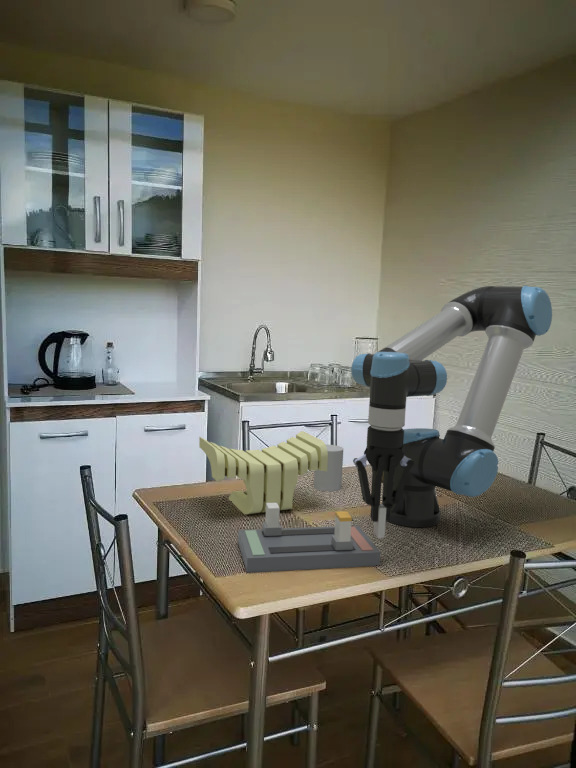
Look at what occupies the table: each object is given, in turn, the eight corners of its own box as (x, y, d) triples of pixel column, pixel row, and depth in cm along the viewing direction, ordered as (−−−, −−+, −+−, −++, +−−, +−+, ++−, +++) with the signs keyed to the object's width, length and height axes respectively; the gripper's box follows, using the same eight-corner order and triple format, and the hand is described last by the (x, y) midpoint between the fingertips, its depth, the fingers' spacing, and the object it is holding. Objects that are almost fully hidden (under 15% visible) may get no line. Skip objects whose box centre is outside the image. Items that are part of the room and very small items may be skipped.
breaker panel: (357, 537, 140) (359, 498, 139) (379, 565, 125) (382, 522, 124) (238, 542, 134) (239, 501, 133) (246, 572, 120) (248, 526, 118)
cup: (324, 481, 183) (326, 443, 181) (346, 487, 178) (348, 448, 176) (308, 487, 177) (310, 447, 175) (330, 493, 172) (332, 452, 170)
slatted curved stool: (216, 522, 146) (217, 451, 144) (198, 501, 160) (199, 436, 158) (325, 509, 158) (328, 443, 156) (299, 491, 173) (302, 430, 170)
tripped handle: (347, 542, 128) (349, 511, 127) (352, 549, 125) (354, 517, 124) (331, 543, 128) (332, 511, 127) (335, 550, 124) (337, 517, 123)
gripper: (408, 423, 129) (400, 527, 133) (350, 423, 127) (344, 529, 130) (422, 430, 122) (414, 541, 125) (361, 430, 119) (355, 543, 123)
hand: (378, 535), depth 128 cm, fingers closed
